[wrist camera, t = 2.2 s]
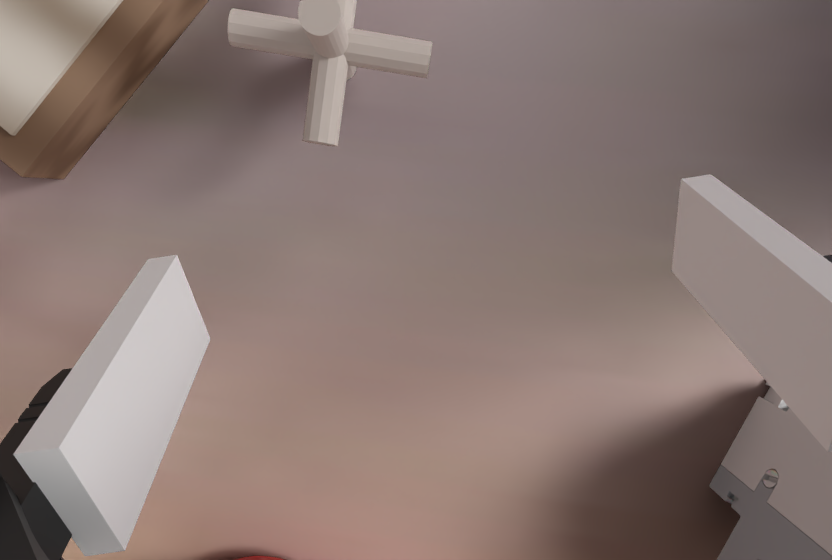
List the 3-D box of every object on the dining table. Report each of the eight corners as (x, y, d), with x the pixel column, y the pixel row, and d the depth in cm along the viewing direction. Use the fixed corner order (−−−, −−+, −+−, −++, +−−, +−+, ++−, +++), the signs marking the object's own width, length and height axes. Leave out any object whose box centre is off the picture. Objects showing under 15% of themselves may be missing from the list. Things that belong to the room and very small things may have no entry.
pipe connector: (437, -9, 34) (454, -92, 24) (412, 163, 36) (418, 150, 26) (266, -39, 34) (212, -136, 24) (246, 137, 35) (188, 114, 25)
